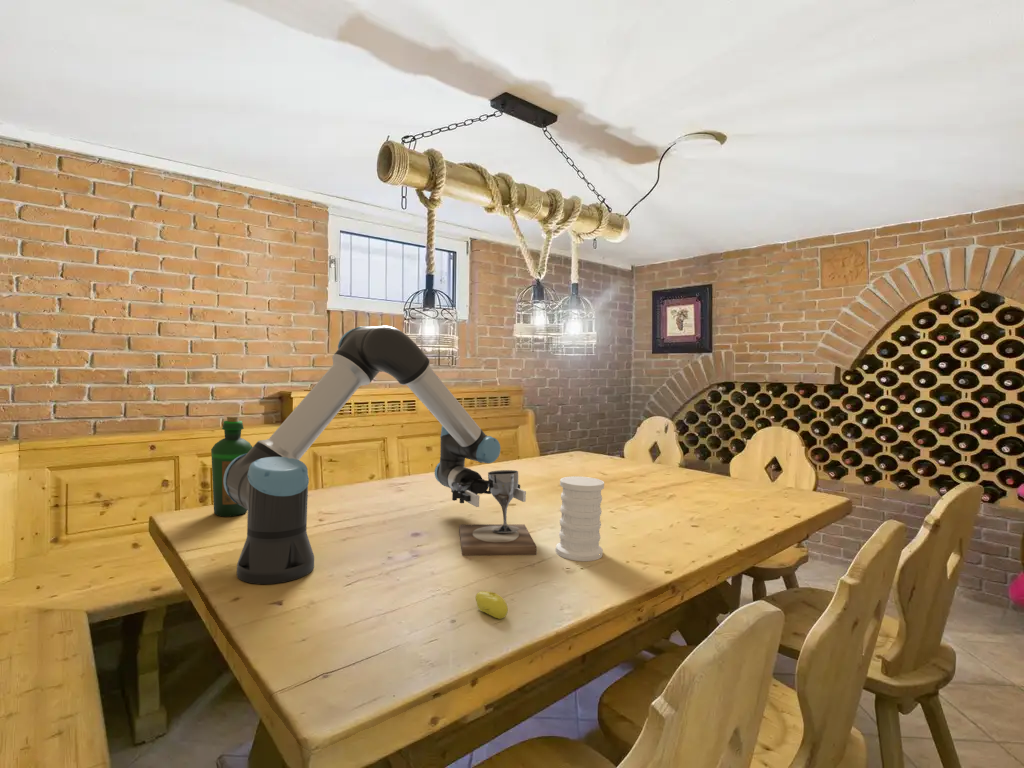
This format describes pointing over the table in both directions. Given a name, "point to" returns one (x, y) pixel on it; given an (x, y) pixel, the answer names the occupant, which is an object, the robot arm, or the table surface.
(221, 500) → the bottle
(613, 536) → the table surface
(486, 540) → the dock
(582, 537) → the decorative container
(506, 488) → the silver goblet
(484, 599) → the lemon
